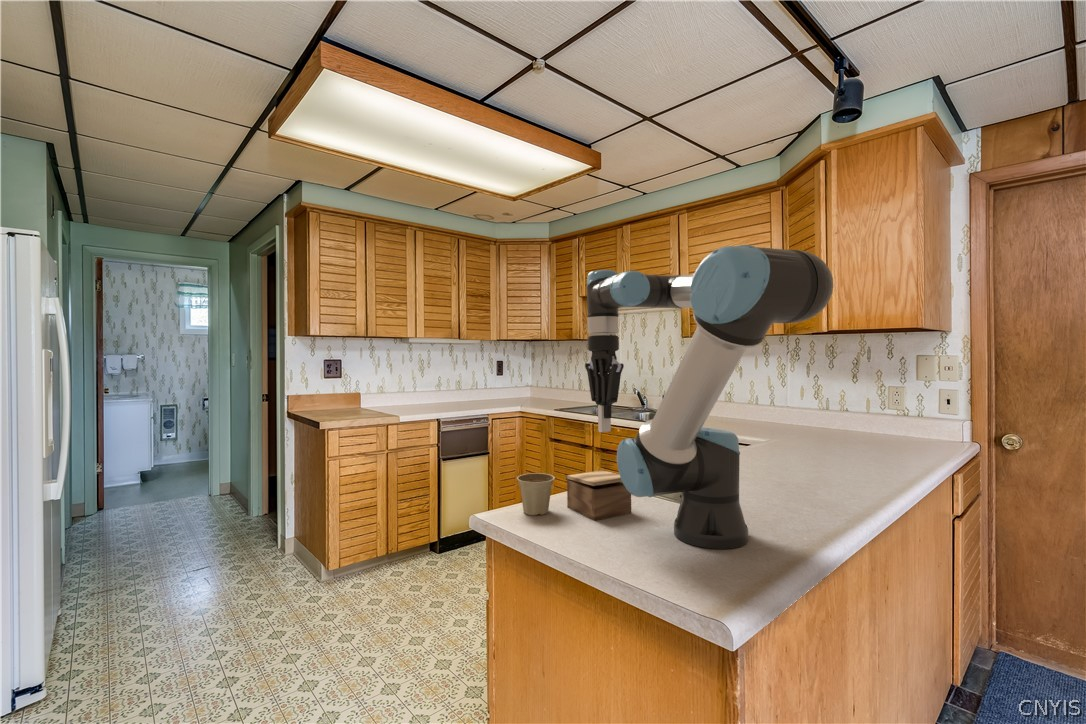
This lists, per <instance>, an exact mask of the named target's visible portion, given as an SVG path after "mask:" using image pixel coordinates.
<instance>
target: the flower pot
mask: <svg viewBox="0 0 1086 724" xmlns="http://www.w3.org/2000/svg"><path fill="white" fill-rule="evenodd" d="M516 481H518V482H517V483H518V487H520V495H521V501H522V503H521V504H522V510H523V512H524V514H526V515H529V516H538V515H546V514H547V513H549V510H550V508H549V507H550V500H551V493H552V487H553V484H554V481H555V476H554V475H552V474H550V473H549V474H548V473H542V472H533V473H531V472H530V473H524V474H521V475H518V476H516Z"/></svg>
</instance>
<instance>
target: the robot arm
mask: <svg viewBox="0 0 1086 724" xmlns="http://www.w3.org/2000/svg"><path fill="white" fill-rule="evenodd" d="M586 279H587V282H586V284H587V285H586V303H587V305H586V306H587V309H586V310H587V323H586V324H587V334H589V336H588V337H587V350H588V351H589V352H591V357H590V361H589V362H587V363H585V364H584V367H585V371H586V372H587V378H588V386H589V393H590V398H591V402H594V403H595V405H597V406H596V408H597V410H596V411H597V412H596V413H597V417H598V418H597V423H598V425H597V426H598V427H597V428H598V432H599V433H608V432H609V433H611V431H612V425H611V423H612V421H611V420H612V406H613V404H615V403H617V402H618V398H619V391H620V383H621V376H622V372H623V369H624V364H623V363H621V362H620V363H619V361H618V357H617V354H616V352H617V351H618V350H619V349H620V337H619V335H617V334H618V333H619V308H620V309H621V308H660V309H661V308H662V309H680V310H681V309H692V310H693V319H694V322H695V324H696V329H695V331H694V332H693V335H692V337H691V339H690V341H689V343H688V345H687V347H686V349H685V351H684V354H683V356H682V358H681V360H680V363H679V364H678V366H677V368H676V371H675V372H674V374H673V377H672V379H671V381H670V383H669V385H668V387H667V390H666V392H665V394H664V396H663V397H662V400H661V402H660V404H659V407H658V408H657V410H656V413H655V415H654V416H653V419H649V420H647V421H644V422H643V423H642V424H641V426H640V428H639V430H638V432H637V434H636V435H635V437H633V438H626V439H622V440H621V441H620V442H619V444H618V447H617V451H616V464H617V469H618V474H620V477H621V480H622V482H623V484H624V486H625V488H626V489H627V490H628V492H629V493H631V496H635V497H637V498H644V497H645V498H646V497H648V498H652V497H656V496H663V495H664V496H665V495H671V494H672V495H673V494H677V493H681V500H680V504H679V507H678V511H677V515H676V518H675V520H674V522H673V534H674V536H675V537H676V538H677V539H678V540H679V541H682V542H683V543H685V544H688V545H691V546H695V547H699V548H705V549H716V550H727V549H736V548H739V547H742V546H745V545H747V543H749V527H748V525H747V523H746V522H745V517H744V514H743V511H742V507H741V503H740V455H741V452H740V446H739V445H740V444H739V441H740V440H739V437H738V436H737V434H736V433H734V432H732V431H728V430H724V429H723V430H722V429H718V428H710V427H704V425H705V422H706V421H707V419H708V417H709V415H710V414H711V412H712V410H713V408H714V407H715V404H716V403H717V402H718V399H719V398H720V396H721V394H722V392H723V391H724V389H725V388H726V385H727V384H728V381H729V380H730V379H731V377H732V375H733V372H734V371H735V369H736V368H737V366H738V365H739V362H740V361H741V359H742V357H743V355H744V353H745V352H746V349H749V348H754V347H757V346H759V345H760V344H761V343H762V341H763V340H764V338H765V336H767V333H768V331H769V330H770V328H771V326H772V325H773V324H795V323H802V322H805V321H808V320H811V319H812V318H814V317H815V316H817V315H818V314H820V313H821V312H822V311H823V310H824V309H825V308H826V307H827V306H828V304H829V302H830V300H831V298H832V295H833V294H834V293H833V291H834V277H833V274H832V271H831V270H830V268H829V265H828V264H826V262H825V261H824V260H823V259H822V258H820V257H819V256H817V255H816V254H814V253H812V252H808V251H804V250H801V249H800V250H799V249H785V248H784V249H781V248H769V247H759V246H757V247H756V246H754V245H747V244H742V245H737V246H735V245H731V246H723V247H720V248H717V249H715V250H713V251H712V252H710V253H709V254H707V255H706V256H705V257H704V258H703V259H702V261H700V263H699V265H698V266H697V267H696V269H695V271H694V273H690V274H674V275H672V274H671V275H668V274H667V275H663V274H662V275H661V274H645V273H643V272H640V271H638V270H629V271H628V270H626V271H622V272H620V273H619V274H618V273H617V271H616V270H611V269H600V270H599V269H598V270H593V271H592V270H591V271H590V272H589V273H588V274H587V278H586Z"/></svg>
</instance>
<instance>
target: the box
mask: <svg viewBox="0 0 1086 724" xmlns="http://www.w3.org/2000/svg"><path fill="white" fill-rule="evenodd" d="M566 484H567V485H566V495H567V497H566V498H567V500H566V502H567V505H566V506H567V508H568V509H569V510H571V511H574V512H576V513H578V514H580V515H582V516H583V517H586V518H588V519H590V520H592V521H594V522H595V521H600V520H605V519H609V518H615V517H618V516H622V515H623V516H624V515H628V514H632V494H631V493H629V492H628V490H627V489H626V488H625V486H624V484H623V482H622V481H620V482H614V483H609V484H603V485H597V486H592V485H588V484H584V483H581V482H577V481H574V480H566Z"/></svg>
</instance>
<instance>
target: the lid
mask: <svg viewBox="0 0 1086 724" xmlns="http://www.w3.org/2000/svg"><path fill="white" fill-rule="evenodd" d="M565 480H566V481H567V480H574V481H577V482H581V483H584V484H588V485H592V486H597V485H603V484H609V483H614V482H620V481H622V480H621V477H620V474H619V473H614V472H611V471H606V470H595V471H588V472H583V473H582V472H581V473H576V474H570V475H569V474H568V475H566V477H565Z"/></svg>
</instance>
